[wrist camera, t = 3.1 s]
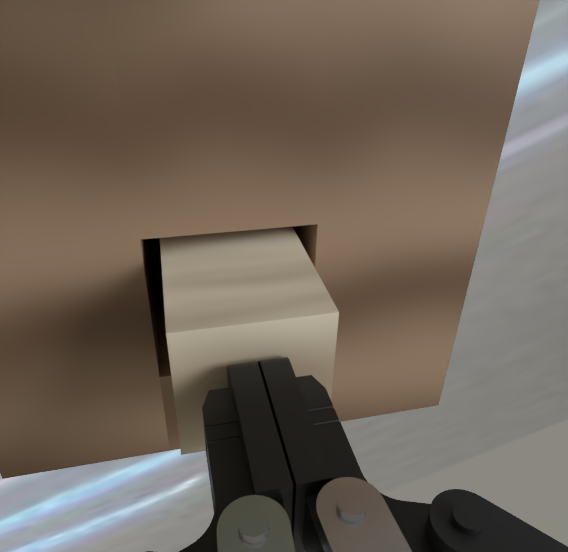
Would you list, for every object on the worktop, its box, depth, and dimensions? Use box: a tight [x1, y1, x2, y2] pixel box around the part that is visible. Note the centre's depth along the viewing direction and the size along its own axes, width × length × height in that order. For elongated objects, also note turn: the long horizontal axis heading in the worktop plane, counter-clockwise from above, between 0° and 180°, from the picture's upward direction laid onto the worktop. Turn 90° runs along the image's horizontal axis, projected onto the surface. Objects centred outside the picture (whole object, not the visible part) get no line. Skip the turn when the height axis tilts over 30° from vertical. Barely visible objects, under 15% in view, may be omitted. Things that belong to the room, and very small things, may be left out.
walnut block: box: [0, 0, 539, 479], centre depth 16 cm, size 24×16×8 cm, turn 179°
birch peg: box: [160, 227, 339, 455], centre depth 16 cm, size 4×4×8 cm
